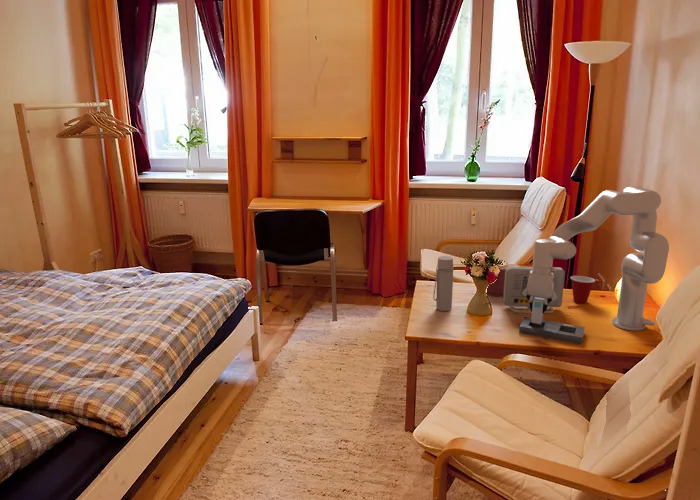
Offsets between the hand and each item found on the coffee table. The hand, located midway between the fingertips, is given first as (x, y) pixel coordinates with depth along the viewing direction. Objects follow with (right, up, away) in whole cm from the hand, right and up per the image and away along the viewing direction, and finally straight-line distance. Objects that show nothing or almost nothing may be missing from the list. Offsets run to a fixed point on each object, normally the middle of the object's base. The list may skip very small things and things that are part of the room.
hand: (537, 310), depth 214 cm
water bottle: (-35, -3, +26) cm, 44 cm away
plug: (0, -5, +1) cm, 5 cm away
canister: (-4, +4, +47) cm, 47 cm away
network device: (+6, -2, +25) cm, 26 cm away
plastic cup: (+33, 0, +33) cm, 46 cm away
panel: (+6, -9, 0) cm, 11 cm away
